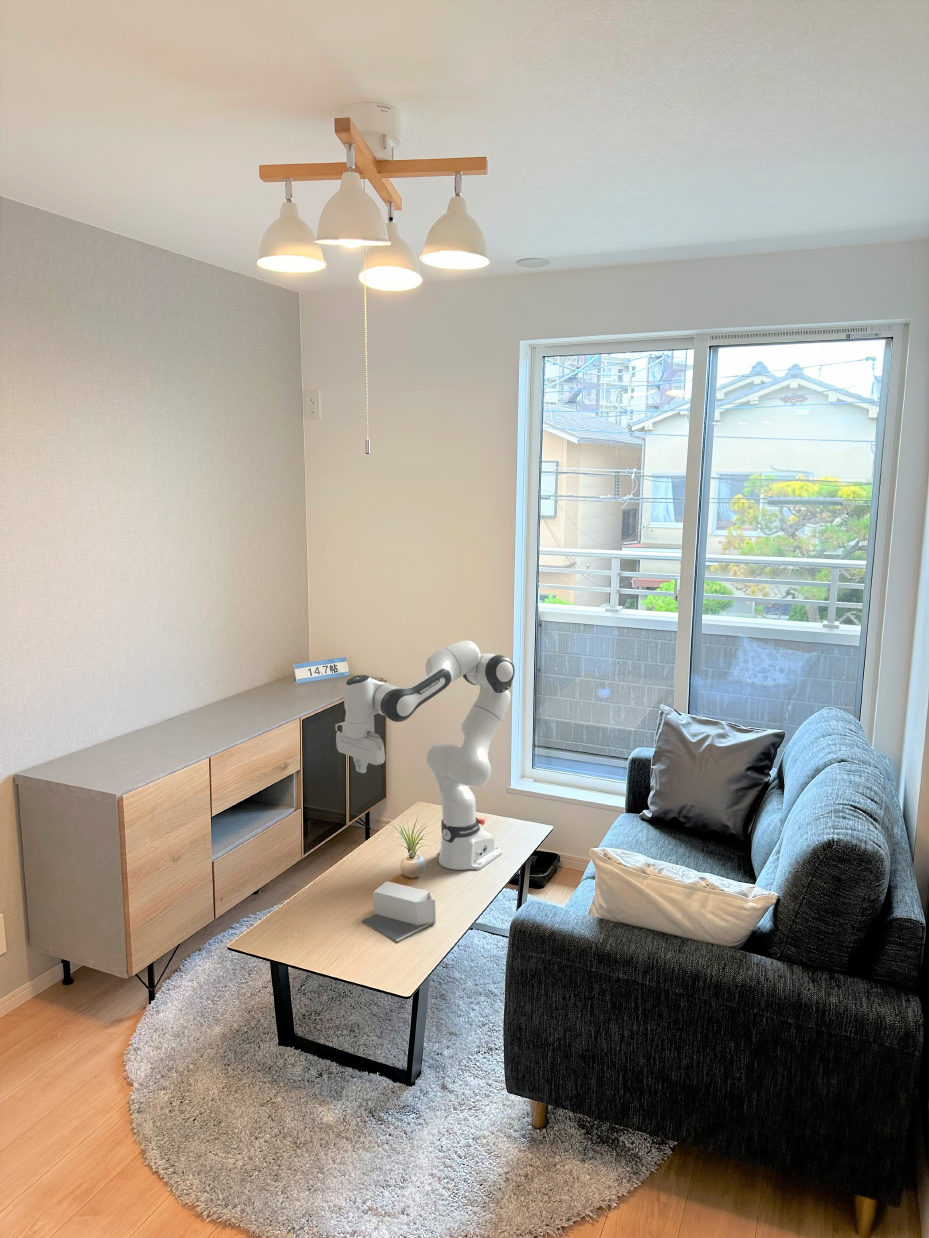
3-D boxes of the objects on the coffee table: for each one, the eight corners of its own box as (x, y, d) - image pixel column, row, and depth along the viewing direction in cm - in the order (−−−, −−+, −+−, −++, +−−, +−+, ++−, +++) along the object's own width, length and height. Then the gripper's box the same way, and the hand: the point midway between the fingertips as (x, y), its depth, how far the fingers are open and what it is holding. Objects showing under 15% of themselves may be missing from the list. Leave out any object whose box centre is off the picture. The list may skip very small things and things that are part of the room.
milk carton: (373, 913, 243) (429, 928, 234) (372, 891, 242) (428, 905, 233) (387, 902, 249) (441, 917, 240) (386, 880, 248) (441, 894, 239)
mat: (398, 904, 249) (398, 902, 249) (434, 923, 238) (434, 921, 238) (361, 921, 239) (361, 920, 239) (397, 942, 228) (397, 941, 228)
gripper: (389, 733, 249) (390, 777, 251) (348, 720, 263) (349, 761, 265) (372, 737, 244) (374, 782, 246) (332, 724, 259) (333, 766, 261)
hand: (361, 771), depth 256 cm, fingers closed
